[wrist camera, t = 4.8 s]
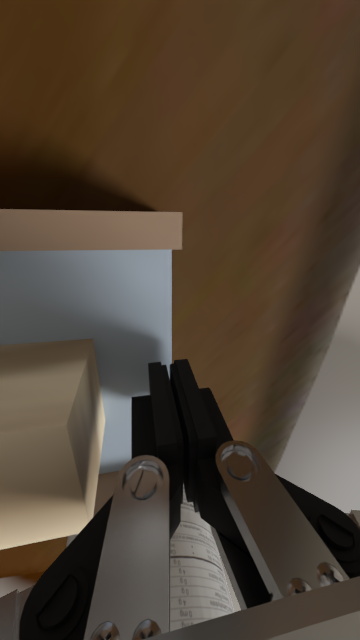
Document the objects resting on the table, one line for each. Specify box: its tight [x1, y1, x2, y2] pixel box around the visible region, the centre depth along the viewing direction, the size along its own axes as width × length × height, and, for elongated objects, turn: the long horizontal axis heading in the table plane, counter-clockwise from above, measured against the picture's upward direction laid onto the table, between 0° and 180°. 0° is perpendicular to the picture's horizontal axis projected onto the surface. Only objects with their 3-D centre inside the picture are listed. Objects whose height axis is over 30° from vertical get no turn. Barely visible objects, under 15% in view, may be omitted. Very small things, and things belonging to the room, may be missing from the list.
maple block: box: [0, 339, 105, 550], centre depth 8 cm, size 4×4×4 cm
